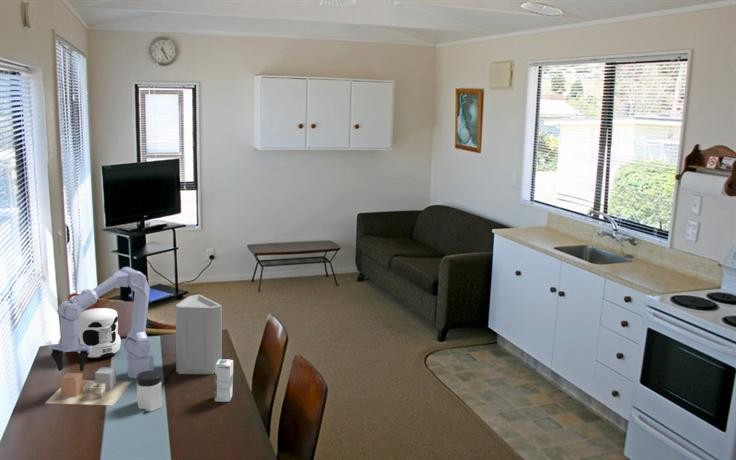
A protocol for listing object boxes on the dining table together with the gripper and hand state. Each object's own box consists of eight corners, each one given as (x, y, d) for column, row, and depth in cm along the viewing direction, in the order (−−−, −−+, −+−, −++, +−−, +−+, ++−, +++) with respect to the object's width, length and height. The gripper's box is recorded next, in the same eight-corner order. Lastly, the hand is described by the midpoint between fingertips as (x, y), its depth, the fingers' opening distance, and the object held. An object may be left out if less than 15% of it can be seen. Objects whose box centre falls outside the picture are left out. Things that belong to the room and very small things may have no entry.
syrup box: (217, 395, 247) (217, 358, 245) (233, 395, 248) (233, 359, 245) (214, 401, 242) (214, 364, 239) (230, 402, 242) (230, 365, 239)
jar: (163, 409, 234) (162, 378, 232) (139, 413, 230) (138, 381, 228) (159, 399, 242) (158, 368, 239) (135, 402, 238) (135, 371, 236)
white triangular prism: (166, 365, 272) (166, 300, 267) (199, 357, 282) (199, 294, 277) (188, 380, 259) (188, 312, 253) (222, 371, 269) (222, 305, 263)
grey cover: (116, 383, 251) (115, 367, 249) (110, 390, 245) (110, 373, 244) (101, 383, 250) (100, 367, 249) (95, 389, 245) (95, 373, 244)
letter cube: (105, 393, 242) (105, 383, 241) (101, 398, 238) (101, 387, 237) (94, 393, 242) (94, 382, 241) (90, 398, 238) (89, 387, 237)
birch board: (131, 384, 253) (131, 381, 253) (113, 407, 234) (113, 405, 233) (68, 382, 252) (68, 379, 252) (44, 405, 233) (44, 403, 232)
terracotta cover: (83, 389, 244) (82, 373, 243) (76, 396, 239) (76, 379, 238) (67, 389, 244) (67, 372, 243) (61, 395, 239) (60, 378, 237)
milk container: (91, 344, 290) (89, 305, 287) (128, 348, 288) (127, 309, 285) (68, 359, 273) (66, 318, 270) (107, 363, 271) (106, 321, 268)
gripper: (44, 337, 233) (46, 373, 236) (86, 339, 234) (87, 375, 236) (53, 330, 240) (54, 366, 243) (93, 332, 241) (94, 367, 243)
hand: (71, 370), depth 240 cm, fingers open, 7 cm apart
